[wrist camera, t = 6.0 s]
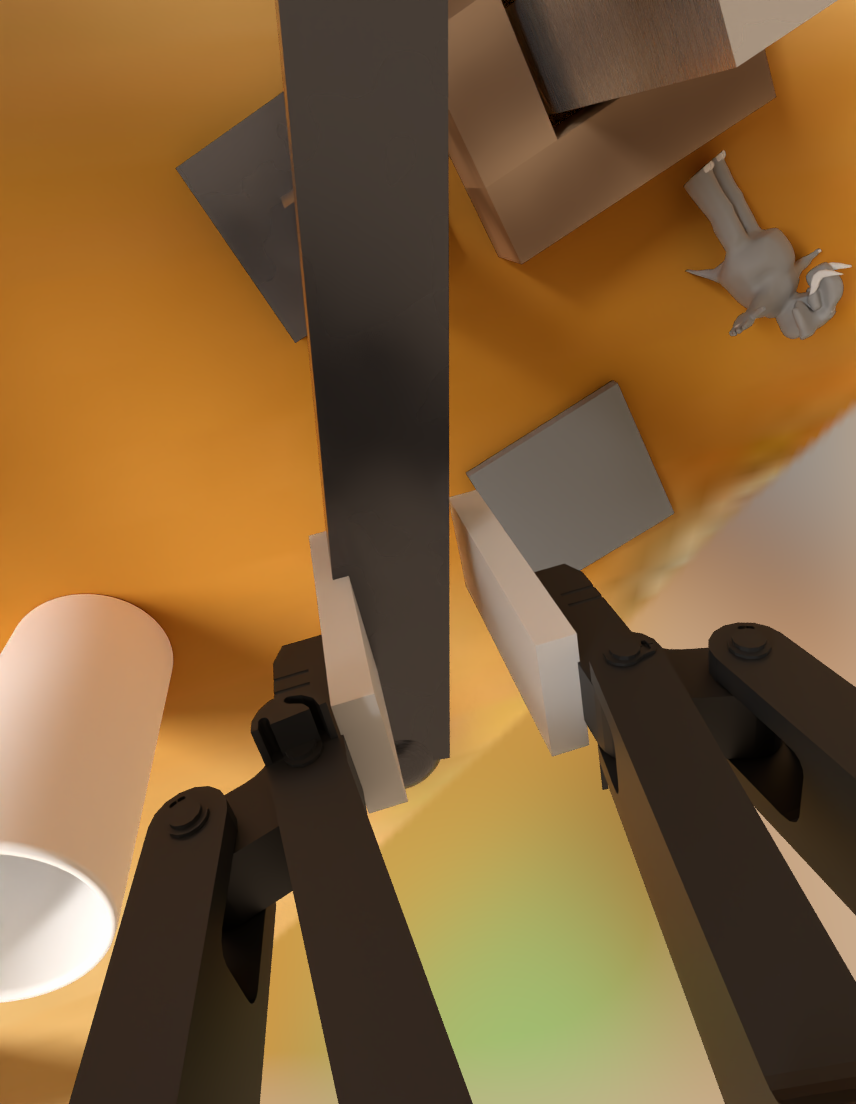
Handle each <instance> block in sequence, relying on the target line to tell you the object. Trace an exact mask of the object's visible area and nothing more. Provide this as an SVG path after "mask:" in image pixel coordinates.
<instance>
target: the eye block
mask: <svg viewBox="0 0 856 1104" xmlns="http://www.w3.org/2000/svg"><path fill="white" fill-rule="evenodd" d="M775 97H776V94H775V90H774V86H773V82H772V78H771V73H770V69H769V65H768V61H767V57H766V53H765V49H764V50H762V51H761V52H759V53H758V54H756V55H755V56H753V57H752V58H750V59H749V60H747V61H746V62H744V63H743V64H741V65H740V66H738V67H736V68H732V69H728V70H725V71H721V72H717V73H713V74H709V75H705V76H701V77H697V78H693V79H689V80H685V81H682V82H678V83H674V84H670V85H666V86H662V87H658V88H654V89H650V90H646V91H642V92H639V93H635V94H631V95H627V96H623V97H619V98H615V99H611V100H607V101H603V102H599V103H595V104H592V105H588V106H585V107H584V108H582V109H581V110H579V111H578V112H576V113H575V114H573V115H572V116H570V117H569V118H568V119H566V120H565V121H563V122H562V123H560V124H559V125H557V126H556V127H554V128H553V127H552V125H551V123H550V120H549V118H548V115H547V113H546V110H545V108H544V105H543V103H542V100H541V98H540V95H539V93H538V90H537V88H536V85H535V83H534V80H533V78H532V76H531V73H530V71H529V68H528V66H527V63H526V61H525V58H524V56H523V53H522V51H521V48H520V46H519V43H518V41H517V38H516V36H515V34H514V31H513V29H512V26H511V24H510V21H509V19H508V16H507V14H506V11H505V9H504V6H503V4H502V1H501V0H448V154H449V156H450V158H451V160H452V162H453V164H454V166H455V168H456V170H457V172H458V174H459V176H460V178H461V180H462V183H463V185H464V187H465V189H466V191H467V193H468V195H469V197H470V199H471V201H472V203H473V205H474V207H475V209H476V211H477V213H478V215H479V218H480V220H481V222H482V224H483V226H484V228H485V230H486V232H487V234H488V236H489V238H490V240H491V242H492V244H493V246H494V248H495V250H496V253H497V255H498V257H501V258H504V259H507V260H510V261H513V262H516V263H519V264H523V263H524V262H526V261H528V260H529V259H531V258H532V257H534V256H535V255H537V254H538V253H540V252H541V251H543V250H544V249H546V248H547V247H549V246H550V245H552V244H553V243H555V242H556V241H558V240H559V239H561V238H562V237H564V236H566V235H567V234H569V233H570V232H572V231H573V230H575V229H576V228H578V227H579V226H581V225H582V224H584V223H585V222H587V221H588V220H590V219H591V218H593V217H594V216H596V215H597V214H599V213H601V212H602V211H604V210H605V209H607V208H608V207H610V206H611V205H613V204H614V203H616V202H617V201H619V200H620V199H622V198H623V197H625V196H626V195H628V194H629V193H631V192H632V191H634V190H636V189H637V188H639V187H640V186H642V185H643V184H645V183H646V182H648V181H649V180H651V179H652V178H654V177H655V176H657V175H658V174H660V173H661V172H663V171H664V170H666V169H667V168H669V167H670V166H672V165H674V164H675V163H677V162H678V161H680V160H681V159H683V158H684V157H686V156H687V155H689V154H690V153H692V152H693V151H695V150H696V149H698V148H699V147H701V146H702V145H704V144H705V143H707V142H709V141H710V140H712V139H713V138H715V137H716V136H718V135H719V134H721V133H722V132H724V131H725V130H727V129H728V128H730V127H731V126H733V125H734V124H736V123H737V122H739V121H740V120H742V119H744V118H745V117H747V116H748V115H750V114H751V113H753V112H754V111H756V110H757V109H759V108H760V107H762V106H763V105H765V104H766V103H768V102H769V101H771V100H772V99H774V98H775Z"/></svg>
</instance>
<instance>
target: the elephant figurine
mask: <svg viewBox="0 0 856 1104" xmlns="http://www.w3.org/2000/svg"><path fill="white" fill-rule="evenodd" d="M725 156H726V153H725V150H723V151H721V153H720V154H718V155H717V156H716V157H715V158H713V159H712V160H711V161H710V162H709V163H708V164H706V165H705V166H704V167H703V168H702V169H701V170H699V171H698V172H697V173H696V174H695V175H694V176H693V177H692V178H691V179H690V180H689V181H688V182H686V184H685V185H684V188H685V189H686V191H687V192H688V194H689V195H690V197H691V198H692V199H693V201H694V202H695V203H696V204H697V206H698V207H699V208H700V209H701V211H702V212H703V213H704V214H705V216H706V217H707V218H708V219H709V221H710V222H711V224H712V227H713V230H714V232H715V234H716V236H717V238H718V239H719V241H720V243H721V244H722V246H723V248H724V249H725V251H726V256H725V260H724V261H723V262H722V263H721V264H720V265H719V266H717V267H716V268H715V269H709V270H698V271H697V270H685V271H686V272H689V273H692V274H695V275H698V276H701V277H704V278H708V279H710V280H713V281H715V282H718V283H720V284H721V285H722V286H723V287H724V288H725V289H726V290H727V291H728V292H729V293H730V294H731V295H732V296H733V297H734V298H735V299H736V300H737V301H738V302H739V303H740V304H741V305H742V306H744V307H745V308H747V310H746V312H745V313H742V314H741V315H739V316H738V317H737V319H736V320H735V322H734V325H733V328H732V329H731V330H730V332H729V334H730V336H736V335H737V333H738V334H740V333H741V332H742V331H743V330H745V329H747V328H749V327H750V326H752V324H753V323H754V321H755V319H756V318H761V317H767V318H776V321H777V323H778V324H779V327H780V329H781V331H782V333H783V334H784V335H785V336H786V337H788V338H790V339H796V338H798V337H800V339H801V340H804V339H806V338H808V337H810V336H812V335H813V334H814V332H815V331H816V329H818V328H820V327H821V326H823V325H824V324H825V323H826V322H827V321H828V320H830V319H831V318H832V317H833V316H834V314H835V313H836V311H835V309H836V308H835V306H836V304H837V303H838V301H839V300H840V298H841V297H842V294H843V282H842V279H841V278H840V276H839V275H843V273H839V272H836V271H834V270H837V269H843V268H849V267H852V265H848V264H843V263H835V262H832V263H827V262H824V263H821V264H819V265H818V266H816V267H814V268H813V269H812V270H810V271H809V272H808V274H807V275H806V280H807V283H808V285H809V286H810V287H809V288H808V289H807V291H806V292H805V293H798V292H796V290H797V287H798V283H799V276H800V274H801V272H802V270H804V269H805V268H806V267H807V266H808V265H809V264H810V263H811V261H812V259H813V258H815V257H816V256H817V255H818V253H820V252H821V249H816V250H815V251H814V252H812V253H811V254H809V255H807V256H804V257H802V258H800V259H799V260H797V261H795V253H794V250H793V247H792V245H791V243H790V242H789V240H788V239H787V237H786V236H785V235H784V234H783V233H782V231H781V230H779V229H778V228H771V229H767V230H762V229H761V228H760V227H759V226H758V224H757V222H756V220H755V218H754V216H753V214H752V212H751V210H750V208H749V206H748V204H747V203H746V201H745V199H744V196H743V193H742V192H741V190H740V189H739V188H738V186H737V185H736V183H735V181H734V179H733V177H732V175H731V173H730V170H729V168H728V166H727V164H726V162H725V160H724V158H725Z"/></svg>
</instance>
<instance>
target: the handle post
mask: <svg viewBox="0 0 856 1104" xmlns="http://www.w3.org/2000/svg"><path fill="white" fill-rule="evenodd" d="M176 170H177V171H178V172H179V174H180V175H181V177H182V178H183V180H184V181H185V183H186V184H187V186H188V187H189V188H190V190H191V191H192V193H193V194H194V196H195V197H196V199H197V200H198V202H199V203H200V205H201V206H202V207H203V209H204V210H205V212H206V213H207V215H208V216H209V218H210V219H211V221H212V222H213V223H214V225H215V226H216V228H217V229H218V231H219V232H220V234H221V235H222V237H223V238H224V240H225V241H226V242H227V244H228V245H229V247H230V248H231V250H232V251H233V253H234V254H235V256H236V257H237V258H238V260H239V261H240V263H241V264H242V266H243V267H244V269H245V270H246V272H247V273H248V275H249V276H250V277H251V279H252V280H253V282H254V283H255V285H256V286H257V288H258V289H259V291H260V292H261V293H262V295H263V296H264V298H265V299H266V301H267V302H268V304H269V305H270V307H271V308H272V309H273V311H274V312H275V314H276V315H277V317H278V318H279V320H280V321H281V323H282V324H283V326H284V327H285V328H286V330H287V331H288V333H289V334H290V336H291V337H292V339H293V340H294V342H295V343H296V342H298V341H299V340H301V339H302V338H304V337H305V336H307V329H306V318H305V308H304V297H303V287H302V276H301V266H300V256H299V245H298V235H297V224H296V214H295V203H294V193H293V182H292V172H291V161H290V151H289V141H288V130H287V120H286V109H285V99H284V91H283V92H282V93H281V94H279V95H278V96H276V97H275V98H274V99H272V100H271V101H269V102H268V103H267V104H265V105H264V106H262V107H261V108H260V109H258V110H257V111H255V112H254V113H253V114H251V115H250V116H248V117H247V118H246V119H244V120H243V121H241V122H240V123H238V124H237V125H236V126H234V127H233V128H231V129H230V130H229V131H227V132H226V133H224V134H223V135H222V136H220V137H219V138H217V139H216V140H215V141H213V142H212V143H210V144H209V145H208V146H206V147H205V148H203V149H202V150H201V151H199V152H198V153H196V154H195V155H193V156H192V157H191V158H189V159H188V160H186V161H185V162H184V163H182V164H181V165H179V166H178V167H177V168H176Z"/></svg>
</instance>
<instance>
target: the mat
mask: <svg viewBox="0 0 856 1104" xmlns="http://www.w3.org/2000/svg"><path fill="white" fill-rule="evenodd" d="M466 474H467V476H468V477H469V479H470V480H471V482H472V484H473V485H474V487H475V489H476V490H477V491H478V493H479V494H480V496H481V497H482V499H483V500H484V501H485V503H486V504H487V506H488V507H489V509H490V510H491V511H492V513H493V514H494V516H495V517H496V519H497V520H498V521H499V523H500V524H501V526H502V527H503V529H504V530H505V532H506V533H507V534H508V536H509V537H510V539H511V540H512V542H513V543H514V544H515V546H516V547H517V549H518V550H519V552H520V553H521V554H522V556H523V557H524V559H525V560H526V562H527V563H528V564H529V566H530V567H531V569H532V570H533V572H536V571H540V570H543V569H547V568H550V567H554V566H557V565H561V564H564V563H565V564H567V565H569V566H571V567H573V568H575V569H577V570H579V571H580V570H582V569H583V568H585V567H587V566H588V565H590V564H592V563H593V562H595V561H596V560H598V559H600V558H601V557H603V556H605V555H606V554H608V553H610V552H611V551H613V550H615V549H616V548H618V547H620V546H621V545H623V544H625V543H626V542H628V541H630V540H631V539H633V538H635V537H636V536H638V535H640V534H641V533H643V532H645V531H646V530H648V529H649V528H651V527H653V526H654V525H656V524H658V523H659V522H661V521H663V520H664V519H666V518H668V517H669V516H671V515H673V514H674V511H673V509H672V506H671V504H670V502H669V500H668V497H667V495H666V493H665V490H664V488H663V486H662V484H661V481H660V479H659V477H658V474H657V472H656V470H655V468H654V465H653V463H652V461H651V458H650V456H649V454H648V452H647V449H646V447H645V445H644V442H643V440H642V438H641V435H640V433H639V431H638V429H637V426H636V424H635V422H634V419H633V417H632V415H631V413H630V410H629V408H628V406H627V403H626V401H625V399H624V397H623V394H622V392H621V390H620V387H619V385H618V383H616V382H615V381H611V382H609V383H608V384H606V385H605V386H603V387H601V388H600V389H598V390H597V391H595V392H594V393H592V394H590V395H589V396H587V397H586V398H584V399H582V400H581V401H579V402H578V403H576V404H574V405H573V406H571V407H570V408H568V409H567V410H565V411H563V412H562V413H560V414H559V415H557V416H555V417H554V418H552V419H551V420H549V421H548V422H546V423H544V424H543V425H541V426H540V427H538V428H536V429H535V430H533V431H532V432H530V433H528V434H527V435H525V436H524V437H522V438H521V439H519V440H517V441H516V442H514V443H513V444H511V445H509V446H508V447H506V448H505V449H503V450H501V451H500V452H498V453H497V454H495V455H494V456H492V457H490V458H489V459H487V460H486V461H484V462H482V463H481V464H479V465H478V466H476V467H475V468H473V469H471V470H470V471H468V472H467V473H466Z"/></svg>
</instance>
